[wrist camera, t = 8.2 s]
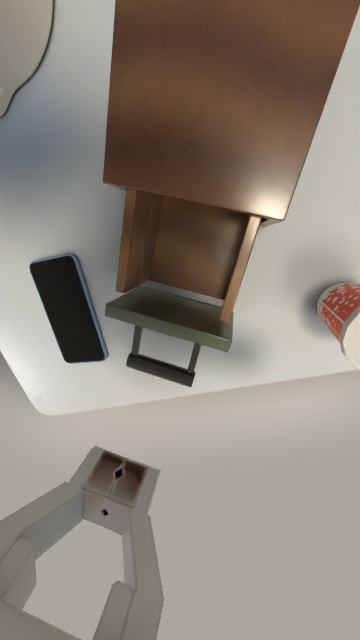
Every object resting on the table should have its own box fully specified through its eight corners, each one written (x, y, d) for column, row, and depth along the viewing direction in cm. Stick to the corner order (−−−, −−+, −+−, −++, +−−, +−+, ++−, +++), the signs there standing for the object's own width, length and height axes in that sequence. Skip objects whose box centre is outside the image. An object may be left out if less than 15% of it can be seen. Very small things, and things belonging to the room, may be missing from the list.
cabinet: (266, 226, 24) (284, 221, 15) (149, 200, 25) (102, 182, 16) (332, 25, 18) (423, -175, 9) (176, 10, 20) (126, -172, 11)
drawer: (217, 363, 29) (210, 405, 22) (131, 337, 30) (99, 368, 23) (272, 189, 22) (290, 167, 14) (156, 167, 23) (120, 136, 16)
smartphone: (64, 364, 35) (25, 263, 30) (68, 361, 36) (30, 262, 31) (108, 362, 33) (72, 252, 28) (111, 359, 33) (77, 251, 29)
